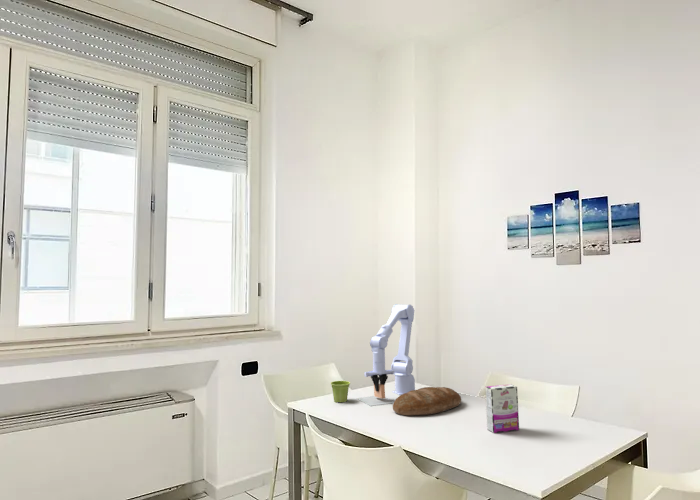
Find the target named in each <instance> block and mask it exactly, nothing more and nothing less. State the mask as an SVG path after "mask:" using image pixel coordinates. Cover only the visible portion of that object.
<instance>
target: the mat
mask: <svg viewBox="0 0 700 500" xmlns="http://www.w3.org/2000/svg"><path fill="white" fill-rule="evenodd" d="M356 400H359V401H360V402H362V403H364V404H366V405H367V406H369V407H374V406H375V407H376V406H382V405H383V406H384V405H391V404H392V405H393V404H394V402H395V400H394V401H393V400H392V399H389V398H387V396H385V398H378V397H375V396H374V395H372V396H363V397H356Z"/></svg>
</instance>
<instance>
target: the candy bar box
mask: <svg viewBox="0 0 700 500" xmlns="http://www.w3.org/2000/svg"><path fill="white" fill-rule="evenodd" d="M484 390H485V406H486V409H485V410H486V427H487V431H489V432H491V433H493V434H498V433H507V432H514V431H515V432H516V431H519V430H520V421H519V399H518V397H519V395H518V386H517V385H515V384H512V383H511V384H497V385H490V386H489V385H488V386H485V389H484Z"/></svg>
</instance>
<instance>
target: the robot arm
mask: <svg viewBox="0 0 700 500" xmlns="http://www.w3.org/2000/svg"><path fill="white" fill-rule="evenodd" d="M414 317H415V308H414V306H413V305H412V304H398V303H396V304H393V306H392V308H391V314H390V316H389V318H388V320H387V322H386V324H383V325H381V327H380V329H379V330H378V331H377V333H376V335H374V336H372V337H371V339H370V342H369V344H370V348H371V352H372V370H369V371H364V372H363V373H364V374H363V375H364V377H365V378H368V377H370V378H371V381H372V383H373V387H374V386H375V390H376V391H377V392H379V384H383V385H384V386H385V385H386V382H387V380H388V378H389V375H393V376H394V389H395V390H392V391H391V392H392V393H393V394H395V395H398V396H400V395H402V394H404V393H407V392H409V391H412V390H416V384H415V383H416V382H415V377H414V375H413V374H412V373H413V370H414V366H413V360H412V358H411V357H410V356H409V352H410V343H411V335H412V328H413V322H414V319H415V318H414ZM398 322H400V323H401V325H400V333H399V334H400V335H399V342H398V349H397V350H398V351H397V354H396V356H394V357H393V359H392V363H391V365H390V369H386V350H385V349H387V346H388V342H389V339H390V336H391V335H392V333H393V332H394V331H393V327H394V326H395V325H396V324H397V323H398Z"/></svg>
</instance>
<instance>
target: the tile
mask: <svg viewBox="0 0 700 500" xmlns="http://www.w3.org/2000/svg"><path fill="white" fill-rule="evenodd" d="M385 389H386V388H385V385H383V384H380V383H379V392H377V391H376V390H375V386H374V385H373V396H375V397H378V398H385V397H386V390H385Z"/></svg>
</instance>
